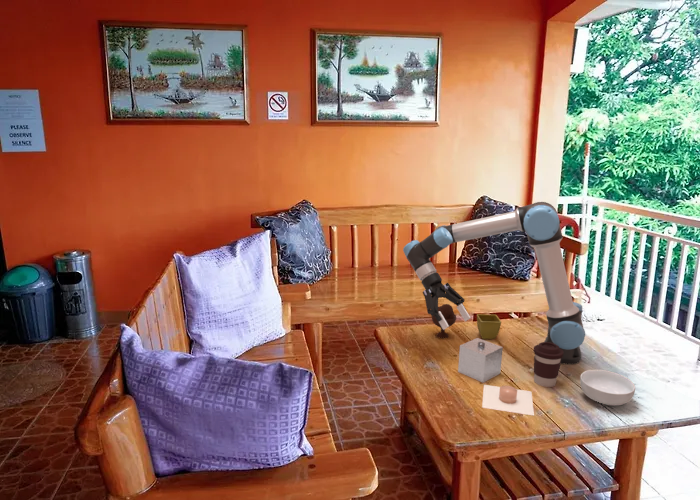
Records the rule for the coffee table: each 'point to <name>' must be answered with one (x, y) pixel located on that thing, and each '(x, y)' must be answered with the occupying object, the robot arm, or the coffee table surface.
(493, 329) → the flower pot
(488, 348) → the metal cover
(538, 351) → the coffee cup
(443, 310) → the ice cream bowl
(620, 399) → the cereal bowl
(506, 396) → the pink domed cylinder
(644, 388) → the coffee table surface
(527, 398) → the serving board
